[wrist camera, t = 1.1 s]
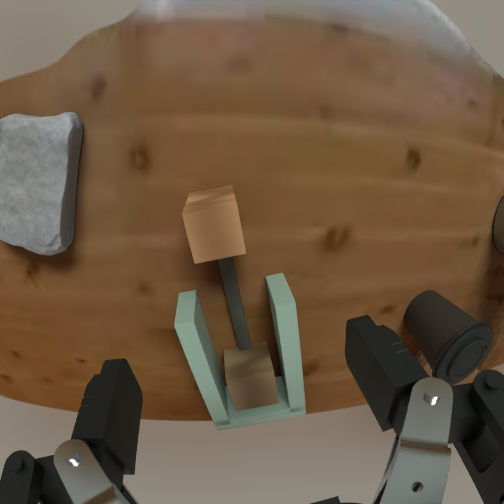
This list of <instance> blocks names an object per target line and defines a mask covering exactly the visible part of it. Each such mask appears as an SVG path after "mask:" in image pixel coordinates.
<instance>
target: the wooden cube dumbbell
mask: <svg viewBox="0 0 504 504" xmlns="http://www.w3.org/2000/svg"><path fill="white" fill-rule="evenodd" d="M182 216H183V220H184V224H185V228H186V232H187V236H188V240H189V244H190V248H191V252H192V256H193V260H194V263H195V264H196V263H201V262H207V261H212V260H217V259H218V264H219V268H220V272H221V276H222V281H223V285H224V289H225V293H226V297H227V302H228V306H229V310H230V314H231V318H232V322H233V326H234V330H235V334H236V338H237V342H238V347H232V348H227V349H224V364H225V378H226V382H227V385H228V388H229V391H230V394H231V397H232V400H233V403H234V406H235V409H236V411H240V410H245V409H251V408H257V407H262V406H267V405H272V404H277V403H279V397H278V392H277V386H276V380H275V375H274V370H273V365H272V361H271V357H270V353H269V349H268V345H267V341H263V342H259V343H253V344H251V343H250V338H249V334H248V329H247V325H246V320H245V316H244V311H243V307H242V302H241V297H240V293H239V288H238V283H237V279H236V274H235V269H234V265H233V260H232V256H237V255H242V254H246V250H245V245H244V239H243V234H242V229H241V223H240V218H239V213H238V207H237V202H236V199H235V195H234V191H233V187H232V185H226V186H221V187H216V188H211V189H206V190H202V191H197V192H192V193H189V195H188V198H187V201H186V204H185V207H184V210H183V213H182Z"/></svg>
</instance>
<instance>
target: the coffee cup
mask: <svg viewBox="0 0 504 504" xmlns="http://www.w3.org/2000/svg"><path fill="white" fill-rule="evenodd" d="M405 323H406V325H407V327H408V328H409V330H410V332H411V333H412V335H413V337H414V339H415V340H416V342H417V344H418V345H419V347H420V349H421V351H422V353H423V354H424V356H425V358H426V360H427V362H428V363H429V365H430V367H431V369H432V377H434V378H439V379H442V380H444V381H445V382H447V383H448V384H449V385H453V384H456V383H458V382H460V381H462V380H463V379H465V378H466V377H467V376H469V375H470V374H471V373H472V372H473V371H474V370H475V369H476V368H477V367H478V366H479V365H480V364H481V362H482V361H483V360H484V358H485V357H486V355H487V353H488V351H489V349H490V347H491V344H492V340H493V334H492V330H491V326H490V325H489V324H488V323H486V322H478V321H477V320H475V319H474V318H472V317H471V316H470V315H468V314H467V313H465V312H464V311H463V310H461V309H460V308H458V307H457V306H456V305H454V304H453V303H451V302H450V301H448V300H447V299H446V298H444V297H443V296H441V295H440V294H438V293H437V292H435V291H431V290H429V291H425V292H423V293H421V294H419V295H418V296H417V297H415V298H414V299H413V300H412V302H411V303H410V304H409V306H408V308H407V310H406V312H405Z"/></svg>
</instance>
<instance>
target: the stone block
mask: <svg viewBox="0 0 504 504" xmlns="http://www.w3.org/2000/svg"><path fill="white" fill-rule="evenodd" d="M82 136H83V123H82V121H81V119H80V117H79V115H78V114H76V113H74V112H66V113H63V114H60V115H57V116H46V117H35V116H29V115H23V114H12V115H9V116H7V117H4V118H2V119H1V120H0V239H1V240H3V241H5V242H7V243H9V244H12V245H14V246H21V247H24V248H25V249H27V250H29V251H32V252H34V253H37V254H41V255H49V256H50V255H54V254H58V253H60V252H63V251H65V250H66V249H67V247H68V246H69V245H70V244H71V243H72V241H73V239H74V231H75V205H76V191H77V177H78V168H79V158H80V150H81V143H82Z"/></svg>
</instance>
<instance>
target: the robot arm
mask: <svg viewBox="0 0 504 504" xmlns="http://www.w3.org/2000/svg"><path fill="white" fill-rule="evenodd" d="M493 235H494V242H495V245H496V247H497V249H498V250H499V251H500V252H501V253H503V254H504V197H503V199H502V200H501V202H500V205H499V207H498V209H497V213H496V216H495V221H494V230H493ZM345 357H346V362H347V365H348V367H349V369H350V371H351V372H352V374H353V376H354V378H355V380H356V382H357V384H358V385H359V387H360V389H361V391H362V393H363V395H364V397H365V399H366V400H367V402H368V404H369V406H370V408H371V410H372V412H373V414H374V415H375V417H376V419H377V421H378V423H379V425H380V427H381V429H382V431H386V430H389V429H392V428H393V429H394V431H395V433H396V436H395V439H394V443H393V446H392V449H391V453H390V456H389V459H388V462H387V465H386V468H385V471H384V474H383V477H382V480H381V483H380V485H379V488H378V490H377V492H376V494H375V497H374V499H373V502H372V504H441V503H442V499H443V495H444V490H445V486H446V481H447V476H448V471H449V466H450V460H451V449H450V448H448V444H449V443H453V444H454V446H455V448H456V450H457V451H458V453H459V455H460V457H461V459H462V461H463V463H464V465H465V467H466V468H467V470H468V472H469V474H470V476H471V478H472V480H473V482H474V484H475V486H476V488H477V490H478V492H479V494H480V496H481V498H482V500H483V502H484V504H504V375H503V374H502V373H500V372H498V371H496V370H490V369H489V370H483V371H481V372H479V373H478V374H477V375H476V377H475V379H474V381H473V383H469V384H462V385H456V386H450V385H449V384H448V383H447V382H445V381H444V380H442V379H439V378H434V377H429V375H428V374H427V373H426V371H425V370H424V369H423V367H422V366H421V365H420V363H419V362H418V361H417V359H416V358H415V357H414V356H413V354H412V353H411V352H410V350H408V349H407V347H406V345H405V344H404V343H402V340H401V339H400V338H399V336H398V335H397V334H396V333H395V331H393V330H391V329H390V328H388V327H386V326H384V325H380V326H376V324H375V323H374V322H373V320H372V319H371V318H370V316H368V315H365V316H361V317H357V318H353V319H349V320H348V321H347V324H346V342H345ZM142 403H143V398H142V392H141V388H140V386H139V384H138V382H137V380H136V378H135V376H134V374H133V372H132V370H131V368H130V366H129V364H128V362H127V360H126V359H124V358H123V359H113V360H105V361H104V363H103V366H102V370H101V373H100V374H98V375H94V377H93V378H92V379H91V380H90V382H89V383H88V384H87V387H86V390H85V393H84V398H83V399H82V402H81V407H80V409H79V412H78V416H77V419H76V423H75V426H74V430H73V433H72V437H71V440H67V441H65V442H63V443H62V444H61V445H59V447H58V448H57V449H56V451H55V453H54V455H51V456H47V457H42V458H38V459H35V458H34V457H33V456H32V455H31V454H29V453H28V452H26V451H23V450H20V451H16V452H14V453H12V454H11V455H10V456H9V457H8V458H7V460H6V462H5V465H4V469H3V473H2V476H1V480H0V504H38V503H40V504H139V503H138V502H137V500H136V499H135V498H134V497H133V495H132V494H131V493H130V491H129V490H128V489H127V487H126V486H125V485H124V484H123V474H131V475H134V473H135V462H136V451H137V443H138V433H139V426H140V418H141V410H142ZM311 504H360V503H340V501H339V498H338V496H337V497H333V498H330V499H327V500H323V501H319V502H315V503H311Z"/></svg>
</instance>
